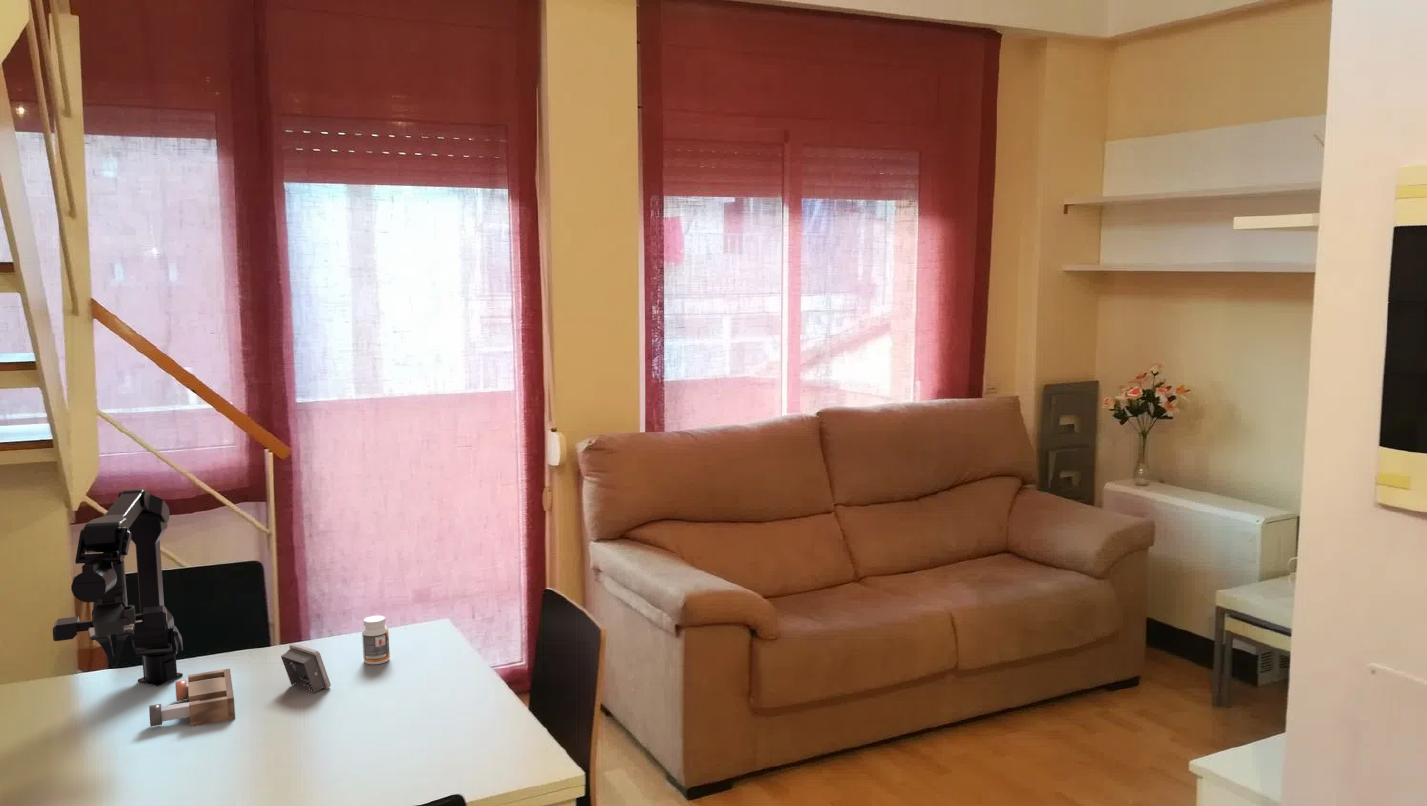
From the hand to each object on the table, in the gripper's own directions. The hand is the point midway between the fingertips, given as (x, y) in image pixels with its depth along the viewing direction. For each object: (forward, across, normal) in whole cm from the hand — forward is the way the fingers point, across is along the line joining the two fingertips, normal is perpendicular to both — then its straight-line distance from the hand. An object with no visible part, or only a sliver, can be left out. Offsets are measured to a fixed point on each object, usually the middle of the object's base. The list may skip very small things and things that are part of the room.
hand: (114, 666), depth 203 cm
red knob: (+13, +14, +11) cm, 22 cm away
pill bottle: (+13, +51, +16) cm, 55 cm away
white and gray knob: (+13, +10, 0) cm, 16 cm away
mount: (+13, +16, +6) cm, 22 cm away
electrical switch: (+13, +35, +7) cm, 38 cm away
